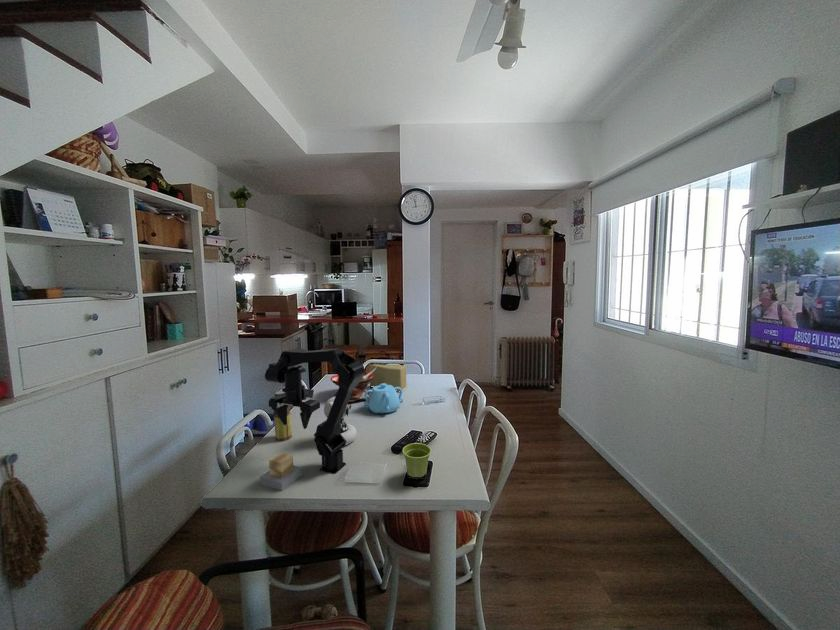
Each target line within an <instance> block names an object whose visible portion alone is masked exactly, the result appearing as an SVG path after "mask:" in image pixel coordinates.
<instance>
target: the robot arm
mask: <svg viewBox="0 0 840 630" xmlns="http://www.w3.org/2000/svg"><path fill="white" fill-rule="evenodd" d="M325 362H329V363H330V364H331V367H332V369H333V372H334V373H335V374H336V375H338V376H339V377H338V383H339V386H338V389H337V391H336V393H337V394H336V393H335V394H336V397H335V399H334V402H333V404H332V407H331V410H330V412H329V415H328V417H326V420H324V421H323V422H321V423H320V424H318V425H317V426H316V430H315V433H314V434H313V436H314V439H313V441H314V443H315V447H316V450H317V453H318V455H319V456H321V467H319V471H320V472H324V473H325V472H326V473H329V474H333V475H336V474H337V473H338V472H339V471H340V470H342V469H343V468H344V467H345V466H346V465H347V463H346V462H344V455H343V454H344V452H343V451H344V449H342V448H344V447H345V446H346V445H345V444H346V440H345V439H344V437H343V436H342V435H341V434H340V432H341V427H340V422H341V420H342V417H343V414H344V412H345V409H346V407H347V405H349V402H350V401H349V399H350V397H351V394H352V392H353V390H354V388H355V387H356V386H357V385H358V383H359V382H360V381H361V379H362V378H363V376H364V375H365V373H366V368H365V367H364V365H363V364H362V362H360V361H358V360H357V359H356V358H355V357H354V356H351V355H349V354H348V353H346V352H345V351H344V350H343V349H341V348H339V347H337V348H332V349H329V348H328V349H317V350H307V349H304V348H297V347H295V348H291V349H289V350H284V351H282V352H281V354H280V356H279V359H278V361H277V362H276V363H275V362H272V363H269V364H268V368H267V369H266V370H265V374H264V378H265V381H267V382H269V383H277V384H284V387H283V388H281V391H282V392H285V395H278V396H275V395H274V396H273V397H271V398H269V400H268V407H269V408H271V410H273V412H274V411H275V413H276V414H277V415H278V417H279V418H280V420H281V421H282V423H283V425H286V424H287V408H288V406H289V407H295V408H296V407H298V408H299V411H300V412H299V416H300V422H301V424H302V427H303V429H304V430H306V429H307V428H308V426H309V425H308V424H309V422H310V419H311V416H312V414H313V413H314V412H316V411H317V410H318V409H320V408H321V403H320V401H319V400H318V399H313V397H314V392H315V390H314V389H311V388H306V387H305V385H303V384H302V383H303V381H302V374H303V373H306V372H307V369H306V368H304V367H303V366H302V365H301V364H307V363H325ZM343 364H344V365H343ZM297 365H298V366H297ZM308 398H310V399H308ZM307 399H308V400H307Z"/></svg>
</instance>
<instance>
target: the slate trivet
mask: <svg viewBox="0 0 840 630" xmlns="http://www.w3.org/2000/svg"><path fill="white" fill-rule="evenodd" d="M293 469H294V470H292V471H291V472H290V473H288V474H287V475H286V476H284V477H283V478H280V477H276V476H272V475H270V469H268V471H266V472H265V473H263V474H262V475H260V476H259V482H260V483H259V484H260V486H264V487H267V488H272V489H273V490H279V491H281V492H283V491H285V489H286V488H288V487H289V486H291V485H292V484H293V483H294V482H295V481H297V480H298V479H300V478H301V477H303V475H304V472H303V471H304V469H303V467H302V466H301V467H300V466H297V465H294V464H293Z"/></svg>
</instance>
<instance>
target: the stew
mask: <svg viewBox="0 0 840 630" xmlns="http://www.w3.org/2000/svg"><path fill="white" fill-rule="evenodd" d="M377 368H378V366H377V367H376V368H375V369H374V370H373V371H371V372H370V371H369V372H365V375H364V376H363V378H362V379H361V381H360V382H359V383H358V385H357V386H356V387H355V388H354V390H353V392H352V394H351V397H350V399H349V402H355V401H358V400H363V401H365V400H366V399H365V397H363V393H365V392H366V391H367V390H371V389H369V388H368V385H370V382H371V381H372V379H373V377H374V376H373V375H372V373H373V372H374V371H375V370H376V369H377ZM338 377H339V376H338V375H337V374H336V375H332V376H331V377H330V381H331V382H332V383H333V384H335V386H338V387H339V383H338ZM368 393H370V392H368ZM336 394H337V392H335V393H334V395H333V397H336ZM361 396H362V397H361ZM360 397H361V398H360ZM364 399H365V400H364ZM367 399H369V395H367Z"/></svg>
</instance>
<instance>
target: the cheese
mask: <svg viewBox="0 0 840 630" xmlns="http://www.w3.org/2000/svg"><path fill="white" fill-rule="evenodd" d="M377 366H378V368H377V369H376V370H375V371H374V372H373V373H372V375H373V376H374V377H373V379H372V381H371V382H370V383H369V387H370V386H379V385H380V384H382V383H386V384H387V385H392V386H393V387H394V388H395V387H400V388H401V389H402V390H403V389H404V388H405V387H406V388H407V365H401V364H400V365H399V364H377V363H373V364H371V365H370V368H369V373H370V372H371V371H373V370H374V369H375V368H376V367H377ZM395 390H397V391H400V390H399V389H395Z"/></svg>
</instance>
